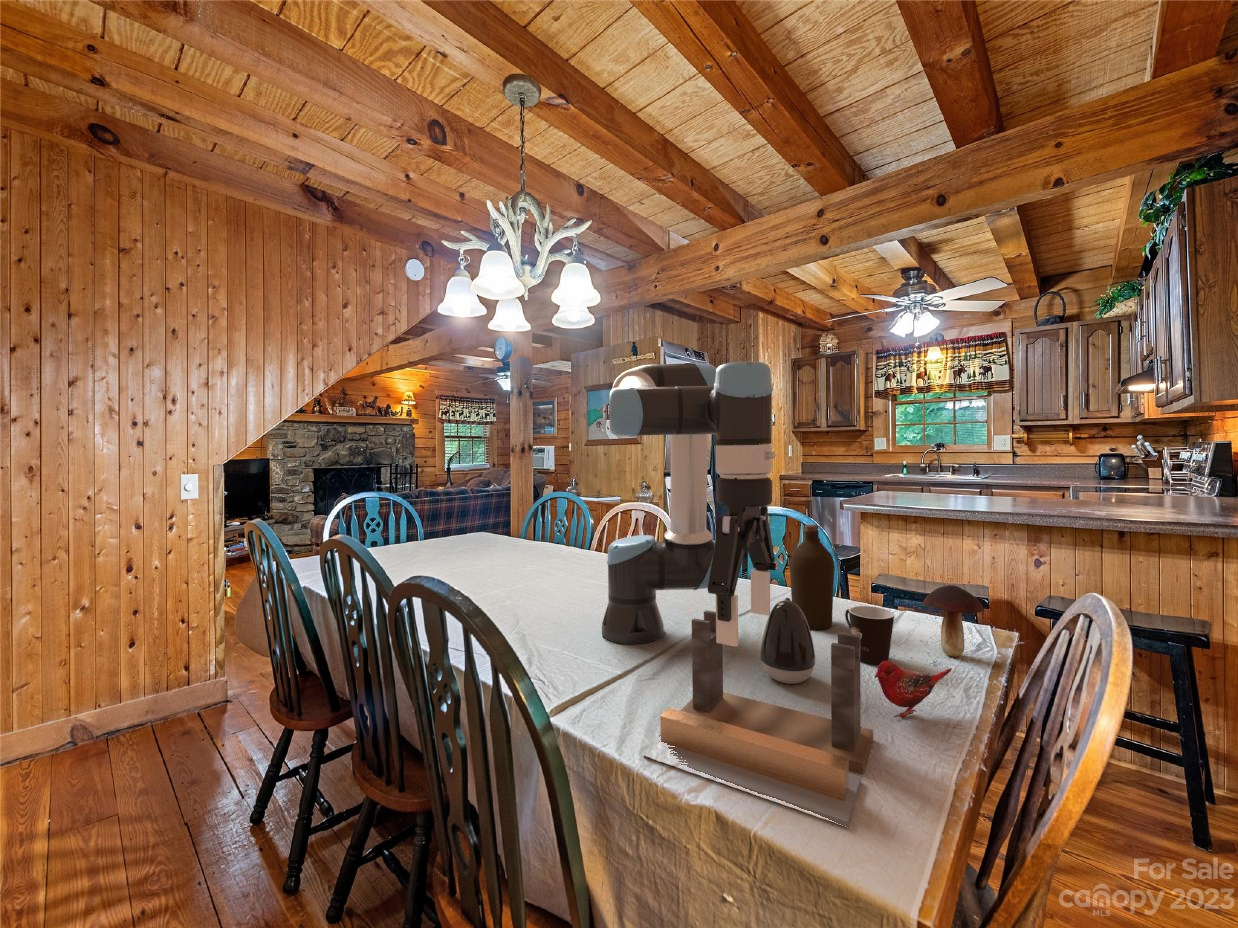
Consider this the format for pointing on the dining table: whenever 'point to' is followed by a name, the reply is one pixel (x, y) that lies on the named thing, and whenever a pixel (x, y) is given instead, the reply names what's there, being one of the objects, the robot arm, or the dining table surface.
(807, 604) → the olive oil
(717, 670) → the rail stand
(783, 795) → the rubber mat
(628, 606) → the robot arm
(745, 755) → the copper rail
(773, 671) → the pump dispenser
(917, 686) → the decorative bird figurine
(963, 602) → the decorative mushroom
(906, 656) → the dining table surface
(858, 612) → the coffee mug
